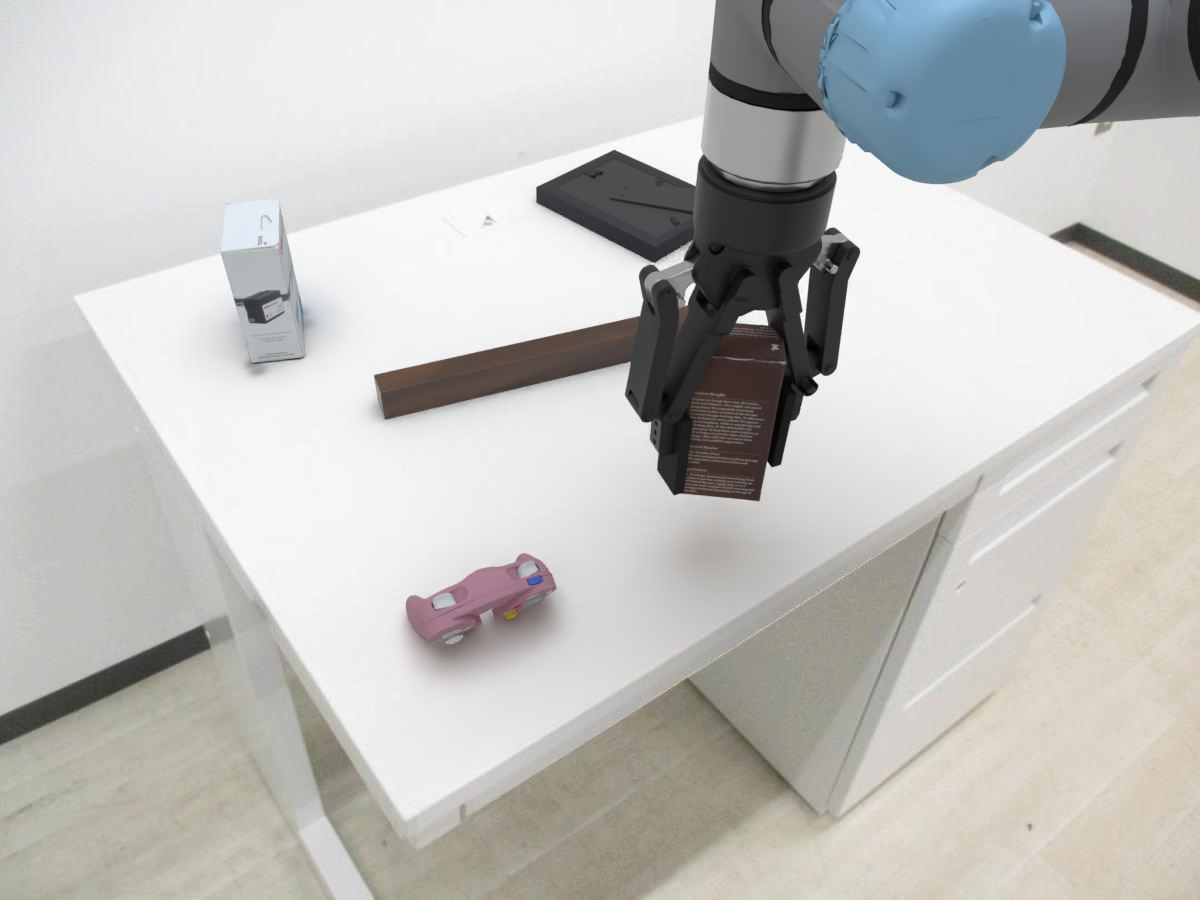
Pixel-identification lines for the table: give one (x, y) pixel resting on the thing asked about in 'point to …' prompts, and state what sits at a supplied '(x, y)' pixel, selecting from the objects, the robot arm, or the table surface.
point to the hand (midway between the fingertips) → (719, 466)
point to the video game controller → (480, 598)
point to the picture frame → (625, 203)
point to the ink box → (262, 279)
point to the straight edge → (507, 367)
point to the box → (735, 414)
